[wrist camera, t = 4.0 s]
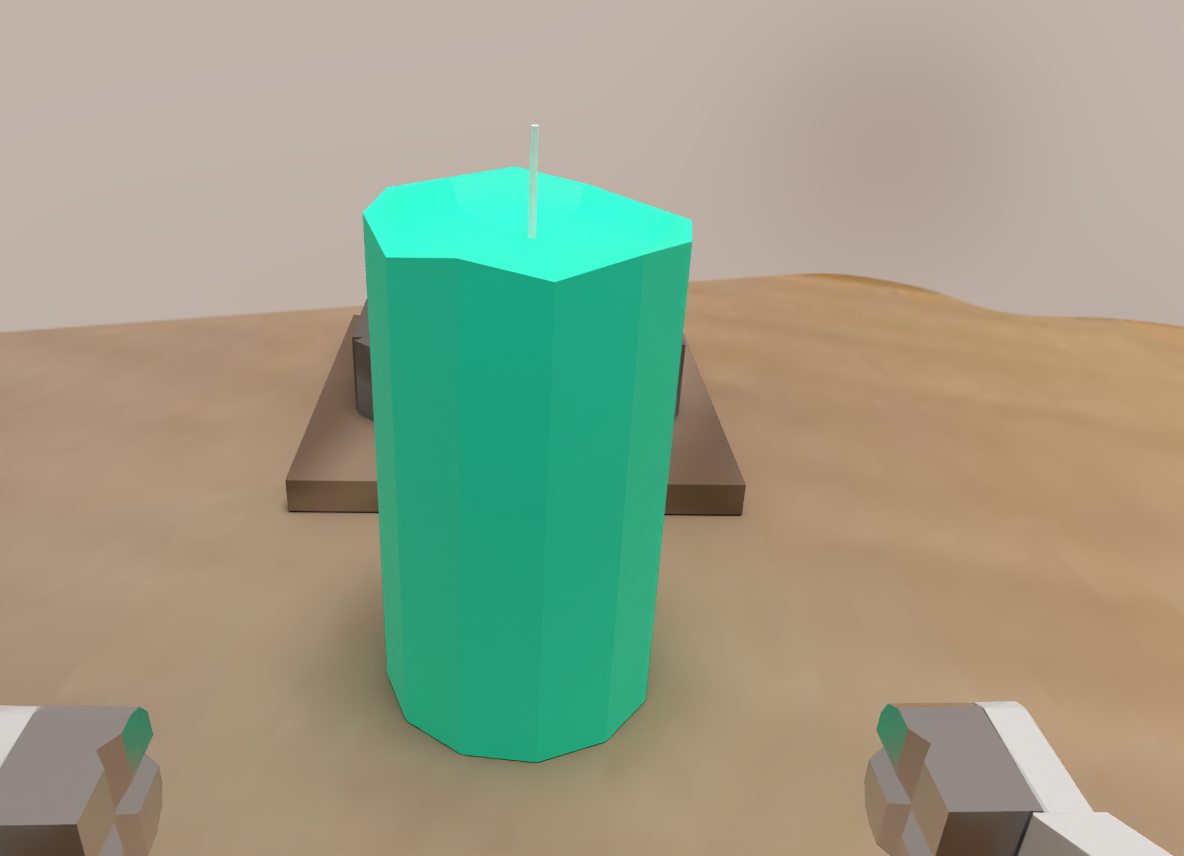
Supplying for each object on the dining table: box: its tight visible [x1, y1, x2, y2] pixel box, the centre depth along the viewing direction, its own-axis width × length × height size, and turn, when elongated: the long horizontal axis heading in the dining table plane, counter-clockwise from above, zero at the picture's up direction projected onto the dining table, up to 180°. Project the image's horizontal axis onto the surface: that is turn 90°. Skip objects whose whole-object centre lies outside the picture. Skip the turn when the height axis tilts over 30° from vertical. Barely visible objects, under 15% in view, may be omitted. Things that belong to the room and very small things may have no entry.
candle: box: [363, 125, 692, 762], centre depth 20 cm, size 6×6×12 cm
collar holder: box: [286, 300, 746, 515], centre depth 33 cm, size 13×13×4 cm
